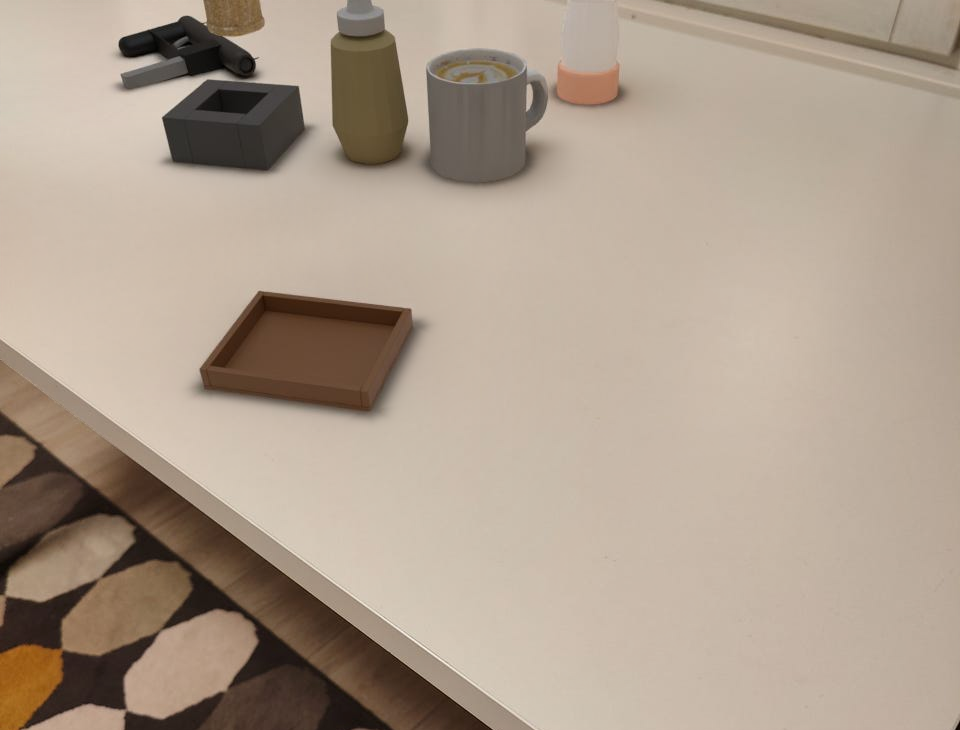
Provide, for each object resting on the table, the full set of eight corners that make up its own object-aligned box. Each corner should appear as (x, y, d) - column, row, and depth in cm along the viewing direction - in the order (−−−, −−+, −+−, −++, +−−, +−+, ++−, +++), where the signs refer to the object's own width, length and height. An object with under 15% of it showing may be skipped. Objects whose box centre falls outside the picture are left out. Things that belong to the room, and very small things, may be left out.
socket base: (172, 163, 101) (161, 117, 98) (216, 123, 109) (207, 79, 105) (267, 172, 99) (259, 125, 96) (305, 130, 107) (298, 85, 103)
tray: (204, 390, 72) (198, 369, 70) (262, 311, 80) (258, 290, 78) (370, 413, 69) (367, 391, 68) (413, 329, 77) (411, 308, 76)
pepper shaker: (628, 100, 112) (644, -85, 99) (571, 109, 110) (580, -77, 97) (601, 79, 117) (613, -99, 104) (547, 88, 115) (552, -93, 102)
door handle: (140, 85, 111) (262, 47, 117) (84, 40, 123) (198, 8, 129) (149, 113, 114) (268, 74, 120) (93, 66, 126) (204, 33, 132)
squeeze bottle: (419, 164, 100) (407, -23, 88) (343, 175, 98) (321, -14, 86) (401, 134, 106) (388, -45, 93) (330, 144, 104) (307, -37, 92)
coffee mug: (450, 191, 95) (446, 90, 88) (418, 152, 102) (412, 56, 95) (570, 167, 99) (575, 69, 92) (531, 132, 105) (534, 38, 99)
